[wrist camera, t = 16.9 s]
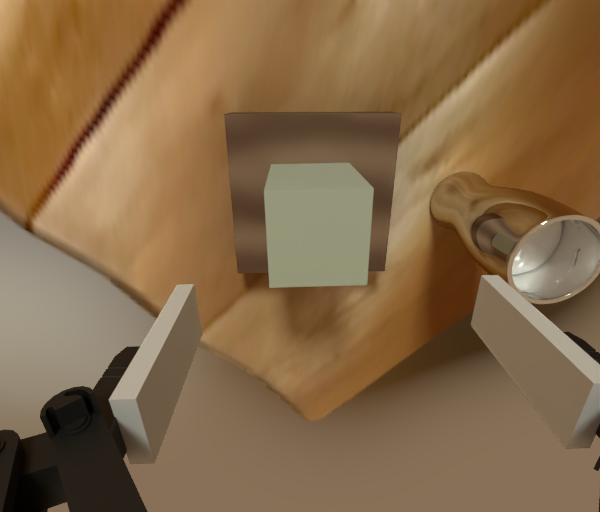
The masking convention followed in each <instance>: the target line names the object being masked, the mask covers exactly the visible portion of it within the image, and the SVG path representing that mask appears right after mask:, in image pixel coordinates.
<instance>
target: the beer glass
mask: <svg viewBox="0 0 600 512" xmlns="http://www.w3.org/2000/svg"><path fill="white" fill-rule="evenodd" d="M430 208H431V213H432V215H433V217H434V219H435V220H436V221H437V222H438V223H439V224H440V225H442V226H443V227H446V228H448V229H451V230H453V231H455V232H456V234H457V235H458V237H459V239H460V240H461V242H462V244H463V245H464V247H465V248H466V250H467V251H468V253H469V254H470V255H471V257H472V258H473V259H474V261H475V262H476V263H477V264H478V265H479V266H480V267H481V268H482V269H483V270H484V271H485V272H487V273H488V274H489V275H499V276H500V277H501V278H502V279H503V280H504V281H505V282H506V283H508V284H509V285H510V286H511V287H512V288H513V289H514V290H516V291H517V292H518V293H519V294H520V295H521V296H522V297H524V298H525V299H526V300H527V301H528V302H531V303H535V304H550V303H556V302H560V301H563V300H565V299H568V298H570V297H572V296H574V295H576V294H578V293H579V292H581V291H582V290H583V289H585V288H586V287H587V286H588V285H589V284H590V283H592V282H593V280H594V279H595V278H596V277H597V276H598V274H599V273H600V224H599V223H598V222H597V221H595V220H594V219H592V218H590V217H587V216H585V215H583V214H581V213H579V212H578V211H576V210H574V209H572V208H570V207H568V206H566V205H564V204H563V203H560V202H558V201H556V200H554V199H551V198H549V197H547V196H544V195H541V194H538V193H535V192H531V191H526V190H521V189H516V188H507V187H498V186H492V185H490V184H488V183H487V182H486V181H485V180H484V179H483V178H482V177H481V176H480V175H478V174H476V173H473V172H458V173H455V174H452V175H450V176H448V177H447V178H445V179H444V180H443V181H441V182H440V183H439V185H438V186H437V187H436V189H435V190H434V192H433V195H432V198H431V203H430Z"/></svg>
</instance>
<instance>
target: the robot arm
mask: <svg viewBox="0 0 600 512" xmlns="http://www.w3.org/2000/svg"><path fill="white" fill-rule="evenodd" d="M471 326H472V328H473V329H474V330H475V331H476V333H477V334H478V335H479V337H480V338H481V339H482V340H483V342H484V343H485V344H486V346H487V347H488V348H489V349H490V351H491V352H492V354H493V355H494V356H495V357H496V359H497V360H498V361H499V363H500V364H501V365H502V367H503V368H504V369H505V370H506V372H507V373H508V374H509V376H510V377H511V378H512V379H513V381H514V382H515V383H516V385H517V386H518V387H519V389H520V390H521V391H522V392H523V394H524V395H525V396H526V398H527V399H528V400H529V401H530V403H531V404H532V405H533V407H534V408H535V409H536V411H537V412H538V413H539V414H540V416H541V417H542V418H543V420H544V421H545V422H546V423H547V425H548V426H549V427H550V429H551V430H552V431H553V432H554V434H555V435H556V436H557V438H558V439H559V440H560V442H561V443H562V444H563V446H564V447H565V448H566V449H567V448H568V449H570V448H590V446H591V444H592V442H593V439H594V437H595V435H596V434H597V436H598V437H599V438H600V354H599V353H598V352H596V350H595V349H593V348H592V347H591V346H590V345H589V344H588V343H587V342H585V341H584V340H582V339H580V338H579V337H577V336H575V335H573V334H571V333H569V332H562V331H561V330H560V329H559V328H558V327H556V326H555V325H554V324H553V323H552V322H551V321H550V320H548V319H547V318H546V317H545V316H544V315H543V314H542V313H541V312H539V311H538V310H537V309H536V308H535V307H534V306H533V305H531V304H530V303H529V302H528V301H527V300H526V299H525V298H524V297H522V296H521V295H520V294H519V293H518V292H517V291H516V290H514V289H513V288H512V287H511V286H510V285H509V284H508V283H506V282H505V281H504V280H503V279H502V278H501V277H500V276H499V275H483V276H481V280H480V284H479V289H478V294H477V298H476V303H475V307H474V312H473V317H472V321H471ZM201 336H202V328H201V322H200V316H199V310H198V305H197V299H196V293H195V287H194V284H183V285H177V286H176V287H175V289H174V291H173V292H172V294H171V296H170V298H169V299H168V301H167V303H166V304H165V306H164V308H163V309H162V311H161V313H160V314H159V316H158V318H157V319H156V321H155V323H154V324H153V326H152V328H151V330H150V331H149V333H148V334H147V336H146V338H145V340H144V341H143V343H142V345H141V346H140V347H126V348H125V349H124V350H122V351H121V352H120V353H119V354H118V355H116V356H115V357H114V359H113V360H112V362H111V363H110V365H109V366H108V369H106V371H105V372H104V374H103V376H102V378H100V380H99V381H98V383H97V384H96V386H95V387H94V389H93V390H92V389H91V388H88V387H84V386H81V387H74V388H70V389H67V390H65V391H62V392H60V393H59V394H57V395H55V396H53V397H52V398H51V399H50V400H49V401H48V402H47V403H46V404H45V405H44V407H43V408H42V410H41V414H40V418H41V421H42V423H43V425H44V427H45V429H46V433H43V434H39V435H36V436H32V437H29V438H25V439H20V437H19V435H18V434H17V433H16V432H14V431H13V430H1V431H0V512H47V509H48V508H50V507H53V506H56V505H59V504H62V503H65V502H67V503H68V507H69V510H70V512H147V510H146V508H145V506H144V503H143V501H142V500H141V497H140V495H139V493H138V491H137V488H136V486H135V484H134V482H133V480H132V478H131V475H130V474H129V471H128V469H127V467H126V465H125V462H124V460H123V458H124V456H125V454H126V453H127V456H128V459H129V462H130V464H148V463H155V460H156V458H157V455H158V453H159V450H160V447H161V445H162V442H163V439H164V436H165V434H166V431H167V428H168V426H169V423H170V420H171V417H172V415H173V412H174V409H175V406H176V404H177V401H178V399H179V396H180V393H181V390H182V388H183V385H184V382H185V380H186V377H187V374H188V371H189V369H190V366H191V363H192V361H193V358H194V355H195V352H196V350H197V347H198V344H199V342H200V339H201ZM599 468H600V457H599V459H598V461H597V463H596V465H595V467H594V469H595V470H597V471H598V470H599ZM599 512H600V500H599Z"/></svg>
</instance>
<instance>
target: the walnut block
mask: <svg viewBox="0 0 600 512" xmlns="http://www.w3.org/2000/svg"><path fill="white" fill-rule="evenodd" d="M224 116H225V128H226V139H227V151H228V163H229V175H230V187H231V198H232V210H233V222H234V234H235V246H236V257H237V269H238V273H269V272H268V255H267V237H266V220H265V202H264V188H265V185H266V181H267V177H268V174H269V170H270V166H271V164H312V163H350V164H351V165H352V166H353V167H354V168H355V169H356V170H357V171H358V172H359V173H360V174H361V175H362V176H363V178H364V179H365V180H366V181H367V182H368V183H369V184H370V185H371V186H372V187H373V188H374V193H373V207H372V222H371V236H370V251H369V265H368V271H385V262H386V253H387V244H388V234H389V225H390V216H391V206H392V197H393V188H394V178H395V169H396V160H397V150H398V141H399V132H400V122H401V113H395V112H253V113H227V114H224Z"/></svg>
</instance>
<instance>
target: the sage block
mask: <svg viewBox="0 0 600 512" xmlns="http://www.w3.org/2000/svg"><path fill="white" fill-rule="evenodd" d="M373 193H374V188H373V187H372V186H371V185H370V184H369V183H368V182H367V181H366V180H365V179H364V178H363V176H362V175H361V174H360V173H359V172H358V171H357V170H356V169H355V168H354V167H353V166H352V165H351V164H350V163H312V164H271V166H270V170H269V174H268V177H267V181H266V185H265V188H264V202H265V220H266V237H267V255H268V272H269V288H279V287H315V286H352V285H367V279H368V265H369V251H370V236H371V222H372V207H373Z"/></svg>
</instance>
